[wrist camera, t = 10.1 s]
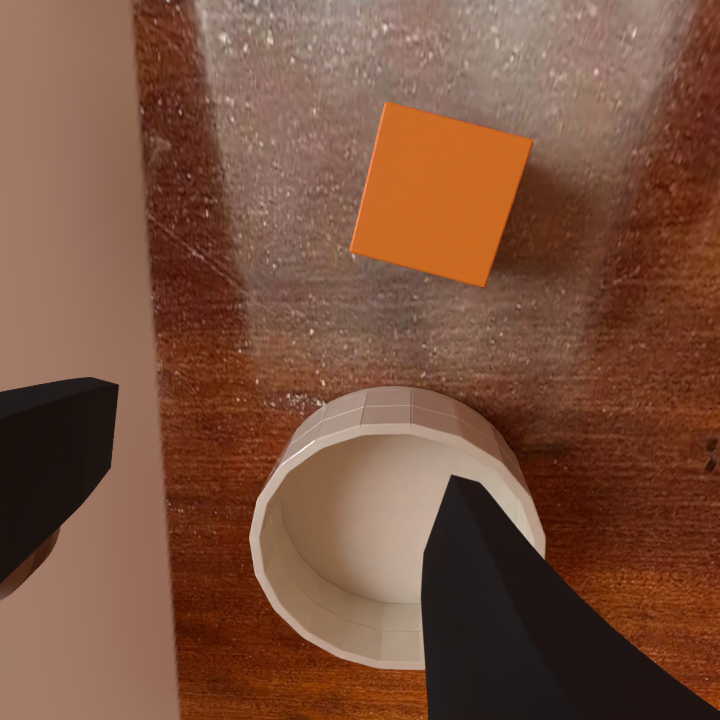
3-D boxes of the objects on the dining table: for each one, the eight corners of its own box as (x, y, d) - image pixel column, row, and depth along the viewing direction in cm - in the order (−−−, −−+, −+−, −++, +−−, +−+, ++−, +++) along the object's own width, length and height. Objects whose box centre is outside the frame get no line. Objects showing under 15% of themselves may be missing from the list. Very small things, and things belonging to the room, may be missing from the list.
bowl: (255, 566, 23) (229, 628, 20) (302, 355, 20) (280, 388, 17) (477, 627, 23) (488, 699, 20) (562, 425, 20) (593, 472, 17)
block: (361, 239, 18) (348, 252, 15) (390, 120, 17) (384, 100, 13) (470, 268, 18) (484, 288, 15) (507, 151, 17) (534, 139, 13)
